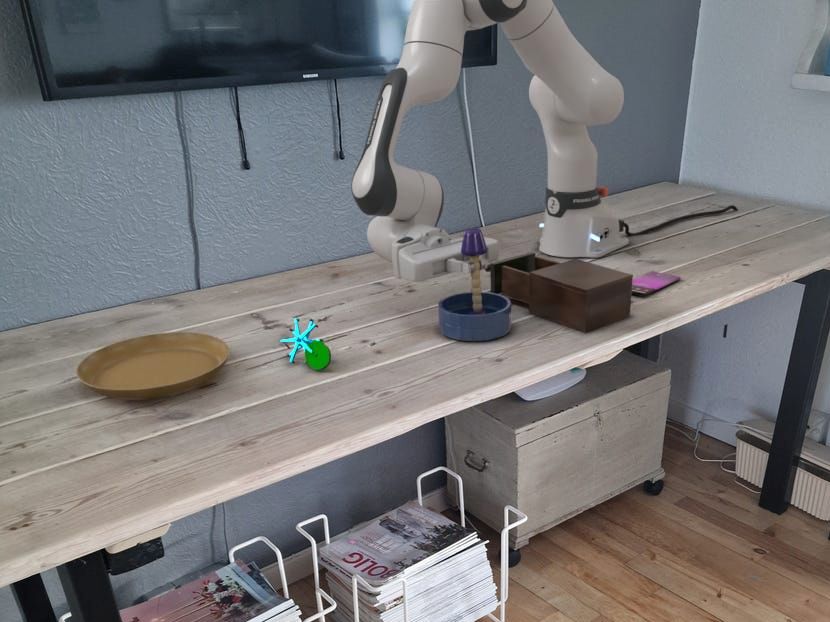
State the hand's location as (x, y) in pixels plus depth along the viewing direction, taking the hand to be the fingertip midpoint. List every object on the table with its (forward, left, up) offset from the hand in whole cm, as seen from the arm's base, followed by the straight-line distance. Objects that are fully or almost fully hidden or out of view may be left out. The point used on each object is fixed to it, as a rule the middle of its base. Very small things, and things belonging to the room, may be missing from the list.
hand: (478, 266), depth 156 cm
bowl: (0, -1, -12) cm, 12 cm away
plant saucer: (+53, -21, -12) cm, 58 cm away
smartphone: (-42, +5, -12) cm, 44 cm away
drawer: (-19, -7, -11) cm, 23 cm away
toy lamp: (0, -1, -10) cm, 10 cm away
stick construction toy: (+30, -9, -12) cm, 33 cm away
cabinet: (-19, +7, -12) cm, 24 cm away
